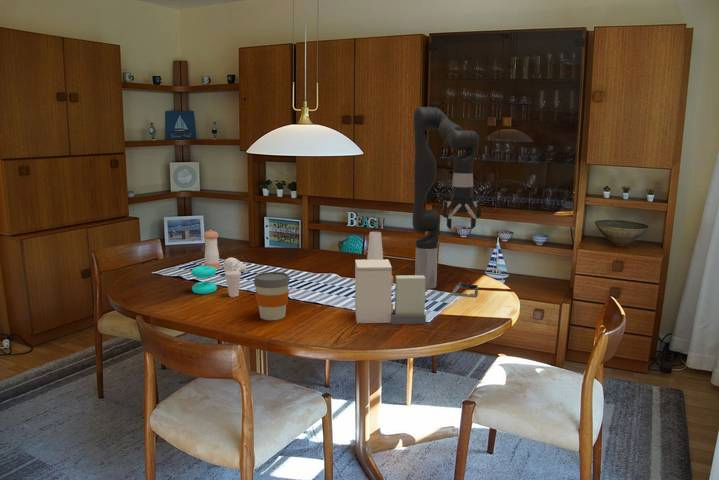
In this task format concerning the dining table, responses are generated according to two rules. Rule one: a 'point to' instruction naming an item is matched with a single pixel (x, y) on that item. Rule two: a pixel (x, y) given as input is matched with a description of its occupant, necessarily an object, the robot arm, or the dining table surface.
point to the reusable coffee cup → (272, 294)
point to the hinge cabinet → (377, 294)
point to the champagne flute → (375, 246)
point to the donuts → (204, 286)
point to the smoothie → (233, 281)
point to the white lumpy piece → (234, 265)
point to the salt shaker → (211, 249)
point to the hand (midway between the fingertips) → (460, 228)
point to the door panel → (410, 295)
